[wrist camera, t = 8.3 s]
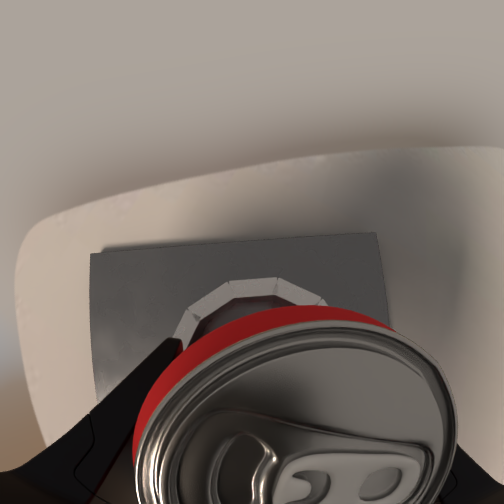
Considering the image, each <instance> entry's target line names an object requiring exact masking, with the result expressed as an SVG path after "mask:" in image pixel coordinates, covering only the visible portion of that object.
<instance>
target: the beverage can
mask: <svg viewBox="0 0 504 504" xmlns="http://www.w3.org/2000/svg"><path fill="white" fill-rule="evenodd" d="M457 436H458V419H457V410H456V405H455V400H454V397H453V394H452V390H451V388H450V385H449V383H448V381H447V378H446V376H445V374H444V372H443V370H442V368H441V367H440V365H439V363H438V362H437V361H436V360H435V359H434V358H433V357H432V356H431V355H429V354H428V353H427V352H426V351H425V350H424V349H422V348H421V347H420V346H418V345H417V344H416V343H414V342H413V341H411V340H409V339H408V338H406V337H405V336H402V335H400V334H398V333H397V332H395V331H394V330H393V329H391V328H390V327H388V326H386V325H385V324H383V323H381V322H379V321H377V320H375V319H373V318H371V317H369V316H366V315H364V314H361V313H358V312H354V311H351V310H347V309H342V308H338V307H330V306H320V305H297V306H286V307H280V308H274V309H269V310H265V311H260V312H256V313H253V314H250V315H247V316H244V317H241V318H239V319H236V320H234V321H231V322H229V323H227V324H225V325H223V326H221V327H219V328H217V329H215V330H213V331H212V332H210V333H208V334H206V335H205V336H203V337H202V338H200V339H199V340H197V341H196V342H195V343H193V344H192V345H191V346H189V347H188V348H187V349H186V350H184V351H183V352H182V353H181V354H180V355H179V356H178V357H177V358H176V359H174V360H173V361H172V362H171V364H170V365H169V366H168V367H167V368H166V369H165V370H164V371H163V373H162V374H161V375H160V377H159V378H158V379H157V380H156V382H155V383H154V385H153V386H152V388H151V390H150V391H149V393H148V395H147V397H146V399H145V401H144V403H143V405H142V407H141V410H140V413H139V415H138V418H137V422H136V426H135V430H134V436H133V448H132V453H133V466H134V488H135V494H136V499H137V502H138V504H434V502H435V500H436V499H437V497H438V495H439V494H440V492H441V490H442V488H443V486H444V484H445V482H446V479H447V477H448V475H449V472H450V469H451V466H452V463H453V459H454V455H455V450H456V445H457Z"/></svg>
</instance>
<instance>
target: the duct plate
mask: <svg viewBox="0 0 504 504" xmlns="http://www.w3.org/2000/svg"><path fill="white" fill-rule="evenodd" d="M89 298H90V333H91V350H92V362H93V372H94V381H95V390H96V397H97V404H98V403H99V402H100V401H102V400H103V399H104V398H105V397H106V396H107V395H108V394H109V393H110V392H111V391H112V390H113V389H114V388H115V387H116V386H117V385H118V384H119V383H120V382H121V381H122V380H123V379H124V378H125V377H127V376H128V375H129V374H130V373H131V372H132V371H133V370H134V369H135V368H136V367H137V366H138V365H139V364H140V363H141V362H142V361H143V360H144V359H145V358H146V357H147V356H148V355H149V354H150V353H151V352H152V351H154V350H155V349H156V348H157V347H158V346H159V345H160V344H161V343H162V342H163V341H164V340H165V339H166V338H168V337H173V338H179V339H181V340H182V343H183V351H184V350H186V349H187V348H188V347H189V346H191V345H192V344H193V343H195V342H196V341H197V340H199V339H200V338H202V337H203V336H205V335H206V334H208V333H210V332H212V331H213V330H215V329H217V328H219V327H221V326H223V325H225V324H227V323H229V322H231V321H234V320H236V319H239V318H241V317H244V316H247V315H250V314H253V313H256V312H260V311H265V310H269V309H274V308H280V307H286V306H297V305H320V306H330V307H338V308H342V309H347V310H351V311H354V312H358V313H361V314H364V315H366V316H369V317H371V318H373V319H375V320H377V321H379V322H381V323H383V324H385V325H386V326H388V327H389V319H388V309H387V301H386V293H385V285H384V278H383V271H382V265H381V259H380V253H379V247H378V241H377V236H376V232H373V233H357V234H341V235H326V236H311V237H296V238H282V239H268V240H254V241H240V242H227V243H214V244H201V245H188V246H175V247H163V248H151V249H139V250H127V251H115V252H104V253H92V254H90V289H89Z"/></svg>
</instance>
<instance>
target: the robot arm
mask: <svg viewBox="0 0 504 504" xmlns="http://www.w3.org/2000/svg"><path fill="white" fill-rule="evenodd" d="M182 352H183V343H182V340H181V339H179V338H173V337H168V338H166V339H165V340H164V341H163V342H162V343H161V344H160V345H159V346H158V347H157V348H156V349H155V350H154V351H152V352H151V353H150V354H149V355H148V356H147V357H146V358H145V359H144V360H143V361H142V362H141V363H140V364H139V365H138V366H137V367H136V368H135V369H134V370H133V371H132V372H131V373H130V374H129V375H128V376H127V377H125V378H124V379H123V380H122V381H121V382H120V383H119V384H118V385H117V386H116V387H115V388H114V389H113V390H112V391H111V392H110V393H109V394H108V395H107V396H106V397H105V398H104V399H103V400H102V401H100V402H99V403H98V404H97V405H96V406H95V407H94V408H93V409H92V410H91V411H90V412H89V414H87V415H86V416H85V417H84V418H83V419H82V420H80V421H79V422H78V423H77V424H76V425H75V426H74V427H73V428H72V429H71V430H69V431H68V432H67V433H66V434H65V435H63V436H62V437H61V438H60V439H58V440H57V441H56V442H54V443H53V444H52V445H50V446H49V447H48V448H46V449H45V450H43V451H42V452H41V453H39V454H38V455H37V456H35V457H34V458H32V459H31V460H29V461H28V462H27V463H25V464H23V465H22V466H20V467H18V468H16V469H13V470H10V471H5V472H0V504H138V502H137V499H136V494H135V488H134V466H133V453H132V448H133V436H134V430H135V426H136V422H137V418H138V415H139V413H140V410H141V407H142V405H143V403H144V401H145V399H146V397H147V395H148V393H149V391H150V390H151V388H152V386H153V385H154V383H155V382H156V380H157V379H158V378H159V377H160V375H161V374H162V373H163V371H164V370H165V369H166V368H167V367H168V366H169V365H170V364H171V362H172V361H173V360H174V359H176V358H177V357H178V356H179V355H180V354H181V353H182ZM434 504H504V485H502V484H500V483H499V482H497V481H496V480H494V479H493V478H492V477H491V476H490V475H489V474H488V473H487V472H486V471H485V470H483V469H482V468H481V467H480V466H479V465H478V464H477V463H476V462H475V461H474V460H473V459H472V458H471V457H470V456H469V455H468V454H467V453H466V452H465V451H464V450H463V449H462V448H461V447H460V446H459V445H458V444H457V445H456V450H455V455H454V459H453V463H452V466H451V469H450V472H449V475H448V477H447V479H446V482H445V484H444V486H443V488H442V490H441V492H440V494H439V495H438V497H437V499H436V500H435V502H434Z"/></svg>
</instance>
